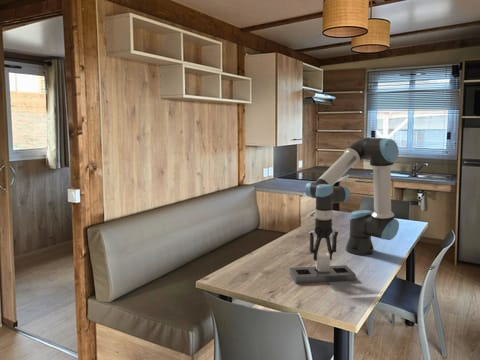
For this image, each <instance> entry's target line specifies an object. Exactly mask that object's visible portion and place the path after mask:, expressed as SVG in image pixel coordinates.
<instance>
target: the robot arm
mask: <svg viewBox="0 0 480 360" xmlns="http://www.w3.org/2000/svg"><path fill="white" fill-rule="evenodd" d="M399 151H400V150H399V146H398V143H397V142H396V141H395V140H394V139H392V138H386V137H384V138H383V137H382V138H381V137H363V138H360V139H358V140H356V141H355V142H353V143H351V144H350V145H349V146H347V147H346V148H345V149H344V150H343V154H342V155H341V156H340V157H339V158H338V159H337V160H336V161H335V162H334V163H333V164H332V165H331V166H329V168H328V169H327V170H326V171H324V172H323V174H322V175H321V176H319V178H317V179H316V180H315V181H314V182H313V181H312V182H311V181H310V182H307V183H306V184H305V186H304V194H305V195H306V197H309V198H311V199H315V219H314V229H313V230H312V231H311V230H310V231H308V235H309V252H310V253H311V254H313V261H314V262H315V264H314V265H315V266H314V267H316V268H319V254H318V252H319V248H320V244H321V241H322V239H325V243H326V247H327V252H326V253H327V255H328V256H329V268H330V266H331V262H330V261H332V259H333V254H334V253H336V252H337V243H338V241H337V239H338V234H339V232H338V230H333V219H332V218H333V204H339V203H344V202H347V201H348V200H349V199H350V198H351V191H350V189H349V187H348V186H346V185H337V186H336V185H335V184H336V183H337V182H338V181H339V180H340V179H341V178H342V177H343V176H344V175H345V174H346V173H347V172H348V171H349V170H350V169H351V168H352V167H353V166H354V165H357V164H359V163H360V161H364V160H365V161H369V165H370V167H371V168H373V169H372V171H373V173H372V175H373V178H372V179H373V183H372V184H373V210H374V211H372V210H369V209H362V210H360V209H359V210H354V211H351V212H350V215H349V217H350V218H349V237H348V239H347V242H346V245H345V251H346V252H347V253H349V254H352V255H353V254H354V255H359V256H360V255H361V256H366V255H367V256H368V255H371V254H374V252H375V251H374V249H375V247H374V245H373V241H372V237H374V238H377V239H380V240H387V241H391V240H393V239H394V238H395V237H396V236H397V234H398V231H399V230H400V229H399V228H400V222H399V220H398V219H396V218H395V213H394V212H393V211H392V186H391V185H392V181H391V180H392V179H391V177H392V174H391V173H392V170H391V168H392V166H394V163H395V162H397V160H398V157H399ZM315 235H316V241H315V238H314V236H315ZM331 235H332V238H331V237H330V236H331ZM331 239H332V241H331ZM314 242H315V244H314Z"/></svg>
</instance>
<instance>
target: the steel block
mask: <svg viewBox="0 0 480 360" xmlns="http://www.w3.org/2000/svg"><path fill="white" fill-rule="evenodd" d="M318 254H319V268H316V272H317V274H325V273H329V256H328V255H327V252H319V253H318Z"/></svg>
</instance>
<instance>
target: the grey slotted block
mask: <svg viewBox="0 0 480 360" xmlns="http://www.w3.org/2000/svg"><path fill="white" fill-rule="evenodd" d="M289 275H290V276H291V278H292V281H293V282H294V283H295V285H300V284H318V283H319V284H320V283H328V282H343V281H350V282H356V278H357V277H356V275H357V274H356V273H355V272H354V271H353V270H352V269H351V268H350V267H349V266H347V264H346V265H330V268H329V273H325V274H317V272H316V266H301V267H300V266H299V267H289Z"/></svg>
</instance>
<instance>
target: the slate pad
mask: <svg viewBox="0 0 480 360" xmlns="http://www.w3.org/2000/svg"><path fill="white" fill-rule="evenodd" d="M327 283H328V285H330V287H331V288H332V289H333V291H335V292H352V291H354V292H355V291H358V289H357V288H356V287H355V286H354V285H353V284H352V282H351V281H343V282H327Z"/></svg>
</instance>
